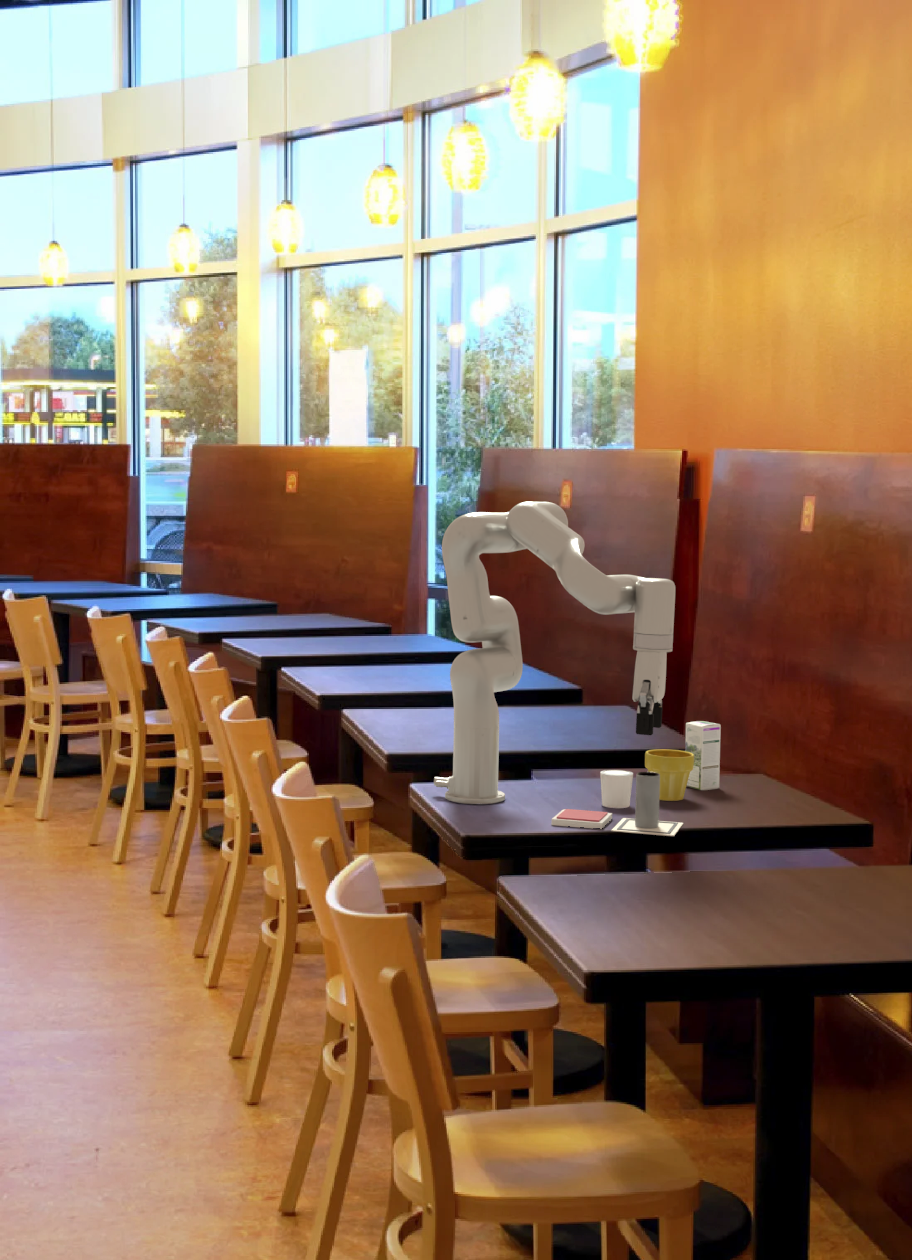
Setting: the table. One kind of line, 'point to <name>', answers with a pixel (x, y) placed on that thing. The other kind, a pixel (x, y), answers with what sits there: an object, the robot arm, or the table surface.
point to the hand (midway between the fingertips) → (648, 730)
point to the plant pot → (670, 771)
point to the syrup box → (704, 754)
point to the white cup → (616, 788)
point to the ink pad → (581, 818)
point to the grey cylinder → (647, 799)
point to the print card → (662, 829)
